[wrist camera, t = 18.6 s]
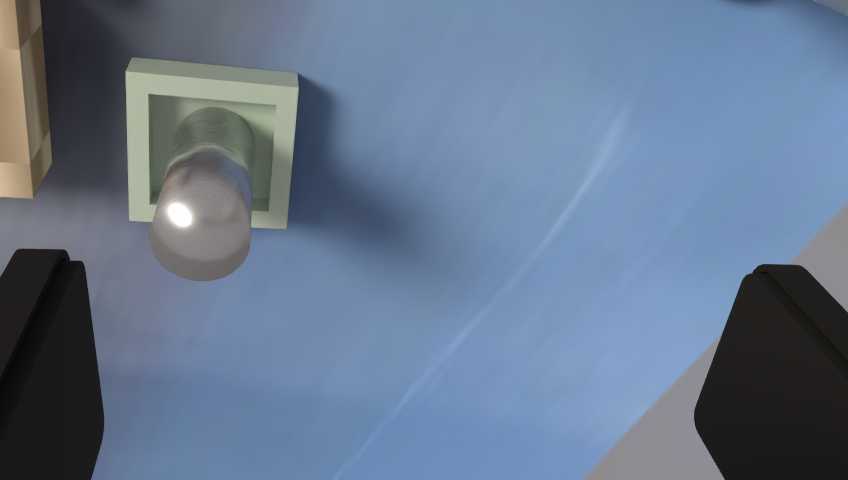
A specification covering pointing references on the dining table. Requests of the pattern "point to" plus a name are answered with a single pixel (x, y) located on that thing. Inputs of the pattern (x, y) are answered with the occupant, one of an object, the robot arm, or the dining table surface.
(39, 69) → the socket block
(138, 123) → the square tray
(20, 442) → the robot arm
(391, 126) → the dining table surface
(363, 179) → the dining table surface
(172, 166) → the brushed metal cylinder
